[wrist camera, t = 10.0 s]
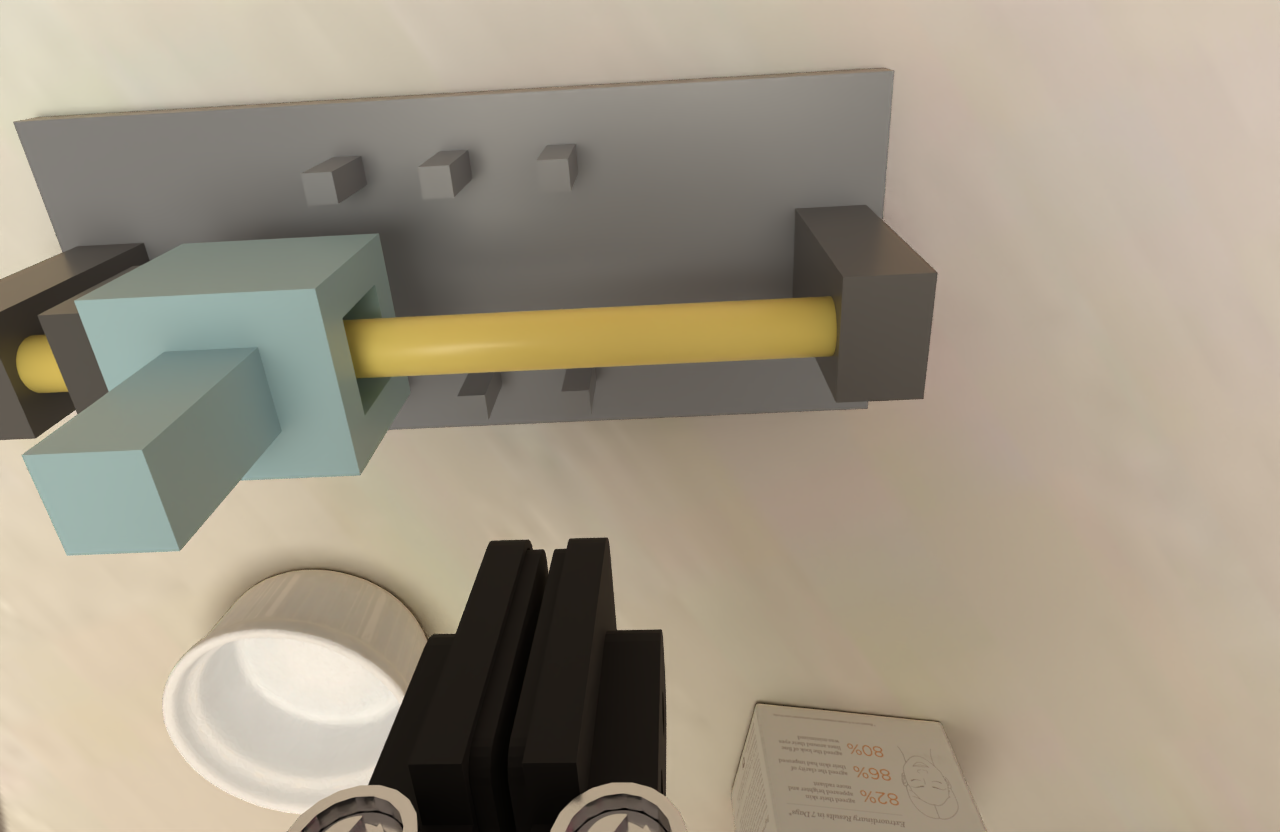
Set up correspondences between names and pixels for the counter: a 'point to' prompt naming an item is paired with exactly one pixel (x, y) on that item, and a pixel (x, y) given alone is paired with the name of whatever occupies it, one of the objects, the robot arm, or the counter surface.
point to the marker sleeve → (217, 387)
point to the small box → (849, 775)
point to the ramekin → (294, 688)
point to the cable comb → (518, 243)
